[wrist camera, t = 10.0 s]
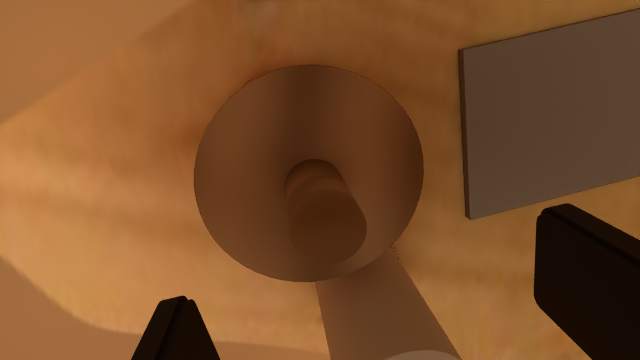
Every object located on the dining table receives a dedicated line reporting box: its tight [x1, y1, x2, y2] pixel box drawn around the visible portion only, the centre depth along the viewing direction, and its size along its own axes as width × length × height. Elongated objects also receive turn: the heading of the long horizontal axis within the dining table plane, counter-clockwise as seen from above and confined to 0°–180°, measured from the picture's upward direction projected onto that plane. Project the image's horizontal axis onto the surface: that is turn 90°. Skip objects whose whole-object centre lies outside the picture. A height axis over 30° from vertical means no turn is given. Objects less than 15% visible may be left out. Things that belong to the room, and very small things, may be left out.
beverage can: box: [315, 247, 462, 360], centre depth 20 cm, size 6×6×12 cm
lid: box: [194, 65, 424, 282], centre depth 15 cm, size 11×11×6 cm
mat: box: [458, 8, 640, 220], centre depth 23 cm, size 14×12×1 cm
